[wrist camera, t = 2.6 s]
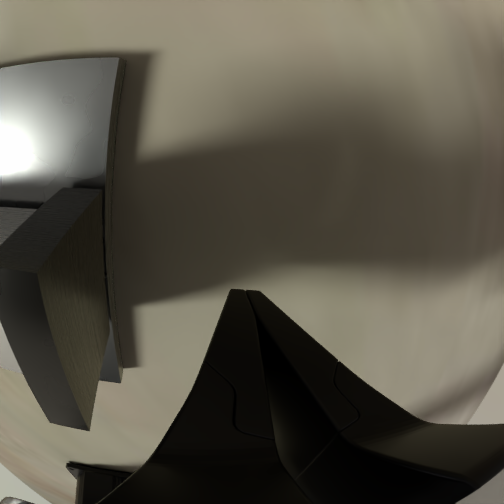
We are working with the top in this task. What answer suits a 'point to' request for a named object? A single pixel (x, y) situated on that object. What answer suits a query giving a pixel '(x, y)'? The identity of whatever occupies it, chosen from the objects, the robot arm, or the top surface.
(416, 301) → the top surface
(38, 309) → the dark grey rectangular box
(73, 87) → the grey tray
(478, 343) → the top surface
